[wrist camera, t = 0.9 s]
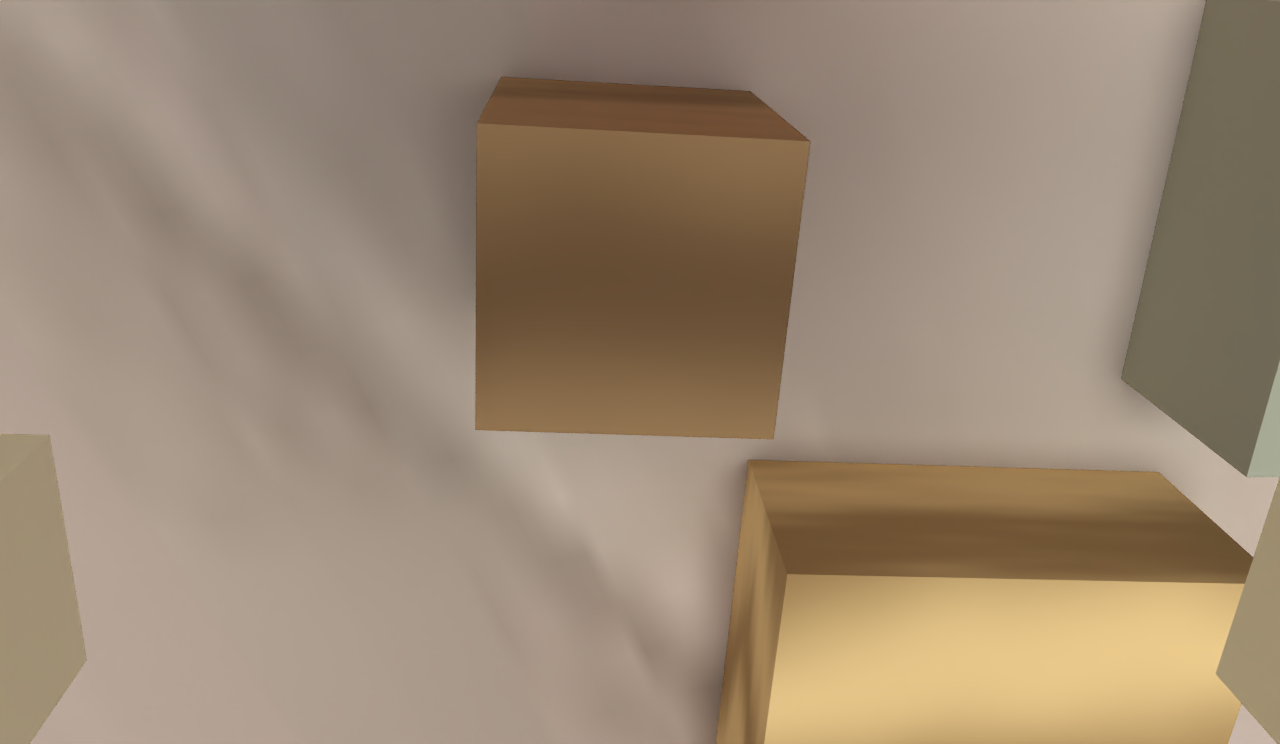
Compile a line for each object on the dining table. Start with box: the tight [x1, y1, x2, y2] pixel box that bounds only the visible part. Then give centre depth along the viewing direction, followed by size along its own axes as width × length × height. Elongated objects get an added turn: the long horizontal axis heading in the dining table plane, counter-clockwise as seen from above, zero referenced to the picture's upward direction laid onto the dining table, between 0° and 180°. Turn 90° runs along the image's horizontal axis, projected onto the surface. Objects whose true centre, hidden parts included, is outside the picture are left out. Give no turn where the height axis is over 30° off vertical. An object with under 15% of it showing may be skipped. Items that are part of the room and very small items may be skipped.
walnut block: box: [475, 77, 810, 439], centre depth 23 cm, size 6×6×7 cm
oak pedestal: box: [716, 460, 1253, 744], centre depth 29 cm, size 12×12×6 cm
